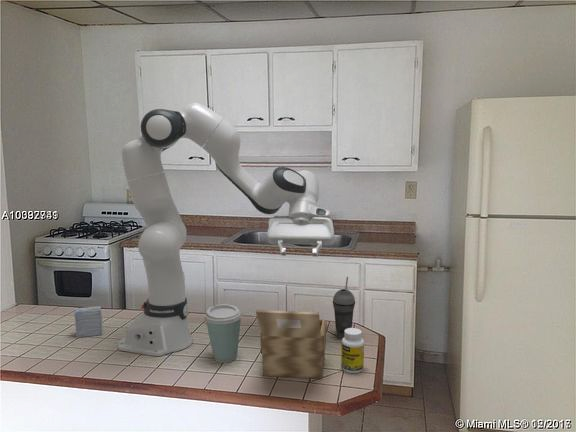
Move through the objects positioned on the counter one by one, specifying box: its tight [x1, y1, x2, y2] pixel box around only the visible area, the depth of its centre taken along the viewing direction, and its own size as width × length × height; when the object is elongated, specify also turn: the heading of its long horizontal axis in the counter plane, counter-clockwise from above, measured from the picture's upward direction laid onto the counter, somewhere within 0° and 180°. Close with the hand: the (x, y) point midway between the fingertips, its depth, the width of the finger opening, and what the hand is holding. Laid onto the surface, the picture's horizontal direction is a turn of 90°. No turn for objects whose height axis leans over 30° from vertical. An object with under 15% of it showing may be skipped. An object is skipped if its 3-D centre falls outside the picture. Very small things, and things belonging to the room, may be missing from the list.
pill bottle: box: [340, 327, 365, 374], centre depth 133 cm, size 6×6×11 cm
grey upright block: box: [74, 305, 104, 339], centre depth 159 cm, size 8×4×9 cm, turn 108°
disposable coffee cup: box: [204, 303, 242, 364], centre depth 140 cm, size 11×11×15 cm
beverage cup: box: [332, 276, 356, 340], centre depth 155 cm, size 7×7×20 cm
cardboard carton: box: [259, 318, 327, 380], centre depth 135 cm, size 17×12×12 cm
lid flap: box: [255, 309, 321, 338], centre depth 123 cm, size 16×12×1 cm
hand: (298, 255), depth 141 cm, fingers open, 8 cm apart
